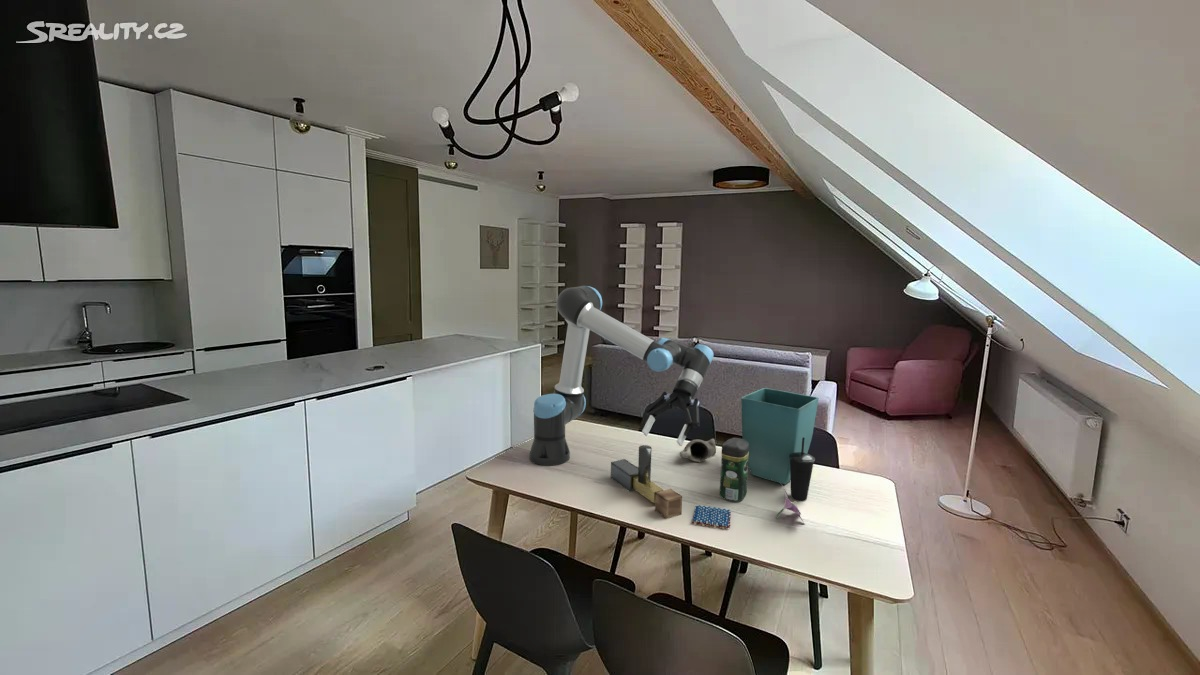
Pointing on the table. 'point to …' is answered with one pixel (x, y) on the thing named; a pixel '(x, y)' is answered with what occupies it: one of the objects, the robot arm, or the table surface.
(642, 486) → the slide bolt with knob
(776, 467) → the teal waste bin
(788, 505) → the lily
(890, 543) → the table surface
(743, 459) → the coffee jar
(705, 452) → the pipe
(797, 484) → the drinking cup
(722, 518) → the woven mat
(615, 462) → the sleeve
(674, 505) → the socket
